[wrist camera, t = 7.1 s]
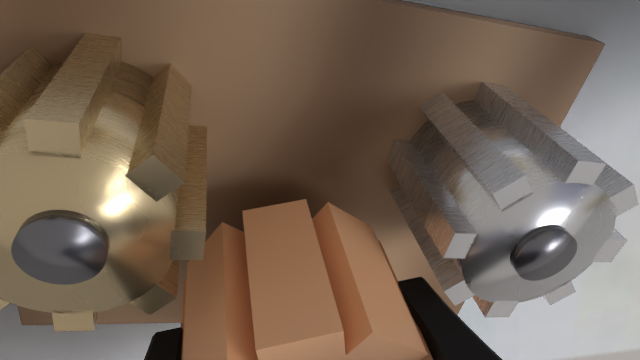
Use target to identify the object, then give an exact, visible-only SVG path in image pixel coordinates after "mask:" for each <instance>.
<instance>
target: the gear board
mask: <svg viewBox="0 0 640 360" xmlns="http://www.w3.org/2000/svg"><path fill="white" fill-rule="evenodd" d="M85 33H92V34H99V35H106V36H113V37H120V38H122V62H125V63H128V64H130V65H132V66H135V67H137V68H139V69H141V70H143V71H144V72H146V73H148V74H149V75H151V76H152V77H153V76H155V75H156V74H157V73H159V72H160V71H161V70H163V69H164V68H165V67H166V66H168V65H169V64H170V63H171V64H172V65H173V66H174V67H175V68H176V69H177V71H178V72H179V73H180V74H181V75H182V76H183V77H184V78H185V79H186V80H187V81H188V82H189V84H190V85H191V86H192V94H191V106H190V119H189V125H192V126H203V127H207V186H206V236H205V242H206V241H207V239H208V238H209V237H210V236H211V235H212V233H213V232H214V231H215V230H216V229H217V227H218V226H219V225H220V224H221V223H222V222H223V223H225V224H228V225H230V226H232V227H234V228H236V229H238V230H240V231H243V232H244V223H243V212H242V211H244V210H250V209H255V208H261V207H266V206H271V205H277V204H282V203H287V202H293V201H298V200H303V199H306V200H307V204H308V207H309V211H310V214H311V218H313V217H314V216H315V215H316V214H317V213H318V212H319V211H320V210H321V209H322V208H323V207H324V206H325V205H326V204H327V202H329V203H331V204H332V205H334V206H336V207H338V208H339V209H341V210H343V211H345V212H346V213H348V214H350V215H352V216H353V217H355V218H357V219H359V220H360V221H362V222H364V223H366V224H368V225H369V226H371V227H372V229H373V231H374V233H375V236H376V238H377V240H380V242H381V244H382V246H383V248H384V251H385V253H386V255H387V257H388V260H389V262H390V264H391V266H392V268H393V271H394V273H395V275H396V277H397V280H398V281H402V280H407V279H411V278H416V277H422V278H424V279H425V280H426V281H427V282H428V284H429V285H430V286H431V287H432V288H433V289H434V290H435V292H436V293H437V294H438V295H439V296H440V297H441V298H442V299H443V301H444V302H445V303H446V304H447V305H448V306H449V307H450V308H451V309H452V310H453V311H454V312H455V314H456V315H457V314H458V313H459V311H460V309H461V307H462V305H463V303H464V302H465V301H463V302H461V303H460V304H458V305H456V306H455V305H454V304H453V303H452V301H451V300H450V299H449V298H448V296H447V295H446V294H445V292H444V291H443V289H442V287H441V285H440V283H439V281H438V280H437V278H436V276H435V274H434V272H433V270H432V269H431V267H430V265H429V263H428V261H427V259H426V257H425V256H424V254H423V252H422V250H421V248H420V246H419V244H418V243H417V241H416V239H415V237H414V235H413V233H412V231H411V230H410V228H409V226H408V224H407V222H406V220H405V218H404V217H403V215H402V213H401V211H400V209H399V207H398V205H397V204H396V202H395V200H394V198H393V196H392V194H391V193H390V191H389V190H391V189H392V188H394V187H395V186H397V185H399V184H400V183H399V181H398V180H397V178H396V176H395V175H394V173H393V171H392V169H391V168H390V166H389V164H388V163H387V161H386V158H387V156H388V153H389V150H390V147H391V144H392V141H393V139H402V140H411V139H412V137H413V136H414V135H415V133H416V132H417V131H418V129H419V128H420V127H421V126H422V125H423V124H424V123H425V122H426V121H427V120H426V118H425V116H424V114H423V113H422V111H421V109H420V107H419V106H421V105H422V104H424V103H425V102H427V101H428V100H430V99H431V98H433V97H434V96H436V95H438V94H439V93H441V92H443V93H444V94H445V95H446V96H447V97H448V98H449V99H450V100H451V101H452V102H453V103H454V104H457V103H460V102H464V101H469V100H474V99H475V96H476V94H477V92H478V89H479V87H480V84H481V82H489V83H495V84H502V85H505V86H506V87H508V88H509V89H510V90H511V91H513V92H514V93H515V94H517V95H518V96H519V97H521V98H522V99H523V100H524V101H526V102H527V103H528V104H530V105H531V106H533V107H534V108H535V109H537V110H538V111H539V112H540V113H542V114H543V115H544V116H546V117H547V118H548V119H549V120H551V121H552V122H553V123H555V124H556V125H557V126H559V127H560V126H561V124H562V122H563V120H564V118H565V117H566V115H567V113H568V111H569V109H570V107H571V106H572V104H573V102H574V100H575V98H576V96H577V95H578V93H579V91H580V89H581V87H582V85H583V84H584V82H585V80H586V78H587V76H588V74H589V73H590V71H591V69H592V67H593V65H594V63H595V62H596V60H597V58H598V56H599V54H600V52H601V51H602V49H603V47H604V45H605V44H604V43H602V42H600V41H598V40H596V39H593V38H591V37H588V36H583V35H577V34H572V33H567V32H562V31H557V30H551V29H546V28H541V27H536V26H531V25H526V24H520V23H515V22H510V21H505V20H500V19H494V18H489V17H484V16H479V15H474V14H468V13H463V12H458V11H453V10H448V9H443V8H437V7H432V6H427V5H422V4H417V3H411V2H406V1H401V0H0V74H1V73H2V71H3V70H4V69H5V68H6V67H7V66H8V65H9V64H11V63H12V62H13V61H14V60H15V59H17V58H18V57H19V56H20V55H22V54H23V53H24V52H25V51H26V50H28V49H29V48H30V47H31V46H32V45H33V46H35V47H36V48H37V49H38V50H39V51H40V52H41V53H42V54H43V55H44V56H46V57H47V58H48V59H49V60H50V61H51V62H52V63H53V64H54V65H56V64H58V63H60V62H63V61H66V60H67V58H68V57H69V55H70V54H71V53H72V51H73V50H74V48H75V47H76V46H77V44H78V43H79V41H80V40H81V39H82V37H83V36H84V34H85ZM189 261H190V260H180V261H179V274H178V287H177V298H176V299H175V300H173V301H172V302H170V303H168V304H167V305H165V306H164V307H162V308H160V309H159V310H157V311H156V312H154V313H153V314H151V315H148V314H146V313H145V312H143V311H142V310H140V309H138V308H137V307H135V306H134V305H132V304H131V303H126V304H124V305H121V306H118V307H115V308H112V309H108V310H103V311H99V312H98V316H97V320H96V324H121V323H181V322H182V305H183V288H184V279H187V263H188V262H189ZM18 308H19V313H20V318H21V323H22V325H53V318H52V313H50V312H43V311H37V310H32V309H28V308H24V307H21V306H18Z"/></svg>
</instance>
